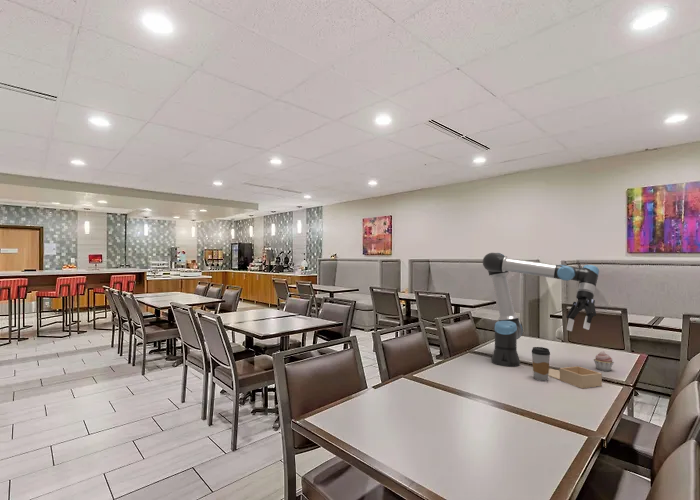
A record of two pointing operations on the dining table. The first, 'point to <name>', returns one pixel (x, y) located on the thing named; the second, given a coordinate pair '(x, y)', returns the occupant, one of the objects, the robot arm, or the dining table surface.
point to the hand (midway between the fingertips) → (577, 329)
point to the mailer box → (577, 376)
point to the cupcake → (603, 361)
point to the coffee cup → (540, 363)
